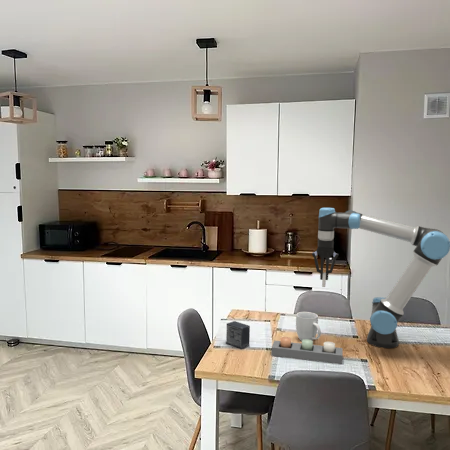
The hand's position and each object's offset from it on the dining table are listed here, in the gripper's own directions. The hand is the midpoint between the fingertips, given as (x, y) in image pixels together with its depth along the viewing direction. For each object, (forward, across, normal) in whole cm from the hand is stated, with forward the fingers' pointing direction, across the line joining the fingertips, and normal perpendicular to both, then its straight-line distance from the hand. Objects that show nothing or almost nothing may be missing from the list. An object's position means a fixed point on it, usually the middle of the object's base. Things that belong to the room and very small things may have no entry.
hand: (323, 286), depth 215 cm
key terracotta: (+26, +16, +18) cm, 36 cm away
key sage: (+26, +6, +18) cm, 32 cm away
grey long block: (+29, +6, +18) cm, 35 cm away
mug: (+30, +7, -2) cm, 30 cm away
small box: (+30, +40, +14) cm, 52 cm away
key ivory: (+26, -4, +18) cm, 32 cm away
